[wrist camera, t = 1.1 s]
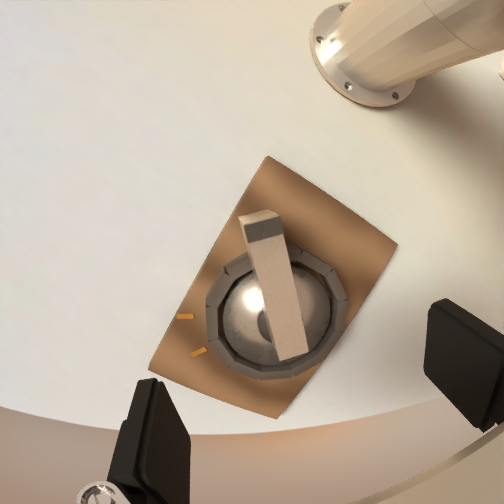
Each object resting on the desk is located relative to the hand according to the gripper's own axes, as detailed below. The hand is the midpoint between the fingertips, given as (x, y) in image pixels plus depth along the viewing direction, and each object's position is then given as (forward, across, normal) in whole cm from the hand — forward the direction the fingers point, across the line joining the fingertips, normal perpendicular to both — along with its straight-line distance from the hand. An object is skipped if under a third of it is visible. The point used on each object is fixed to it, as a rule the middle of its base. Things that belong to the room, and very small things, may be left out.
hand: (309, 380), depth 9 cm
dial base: (+21, -1, +7) cm, 22 cm away
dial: (+19, -1, +4) cm, 20 cm away
